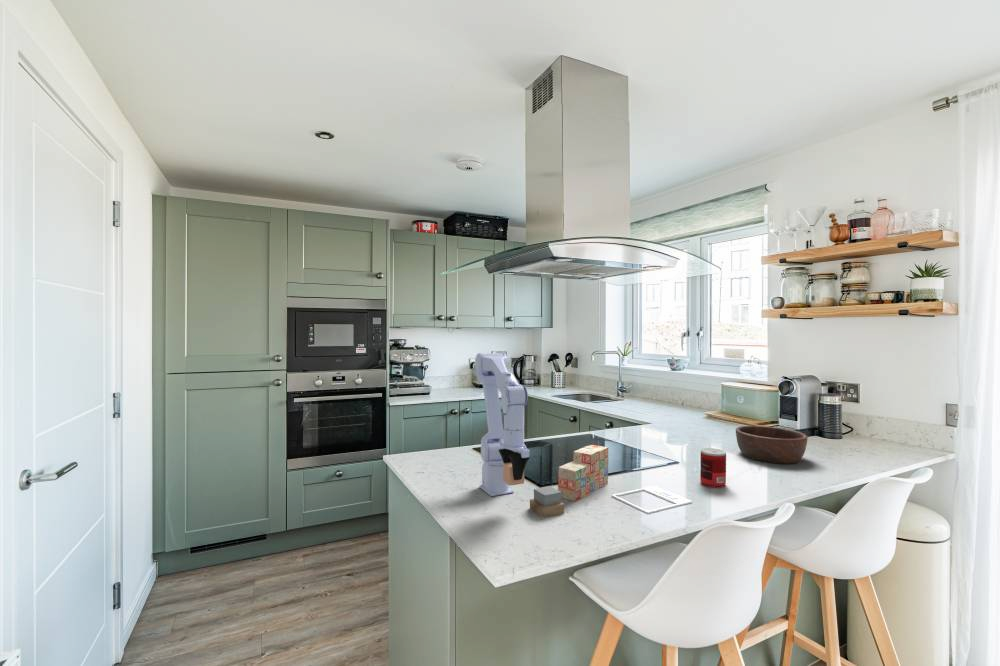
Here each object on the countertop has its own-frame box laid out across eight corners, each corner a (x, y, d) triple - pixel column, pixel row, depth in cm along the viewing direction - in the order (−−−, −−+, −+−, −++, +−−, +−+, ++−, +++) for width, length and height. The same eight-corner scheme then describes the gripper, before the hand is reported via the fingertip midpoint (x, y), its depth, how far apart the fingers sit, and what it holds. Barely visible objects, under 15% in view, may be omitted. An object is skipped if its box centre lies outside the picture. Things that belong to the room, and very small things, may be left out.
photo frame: (692, 500, 136) (647, 511, 127) (692, 504, 136) (647, 515, 127) (654, 485, 149) (611, 494, 140) (654, 488, 149) (611, 498, 140)
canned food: (727, 482, 154) (727, 450, 154) (723, 489, 147) (724, 455, 147) (702, 478, 158) (703, 446, 158) (698, 485, 151) (698, 451, 151)
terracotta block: (502, 480, 130) (502, 463, 130) (516, 478, 132) (517, 461, 132) (509, 485, 126) (509, 467, 126) (524, 483, 128) (524, 465, 128)
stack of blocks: (575, 502, 136) (575, 460, 136) (557, 497, 140) (557, 457, 140) (608, 483, 152) (608, 446, 152) (591, 479, 156) (591, 443, 156)
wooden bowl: (730, 446, 201) (731, 423, 201) (796, 452, 194) (796, 427, 193) (741, 462, 178) (741, 436, 177) (816, 469, 170) (817, 441, 170)
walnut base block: (529, 509, 131) (529, 499, 131) (550, 505, 134) (550, 495, 134) (542, 519, 124) (542, 508, 124) (564, 514, 128) (564, 503, 127)
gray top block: (533, 499, 130) (533, 489, 130) (549, 496, 133) (549, 485, 133) (544, 506, 126) (545, 495, 126) (561, 502, 128) (561, 491, 128)
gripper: (490, 424, 134) (490, 471, 134) (512, 435, 121) (512, 486, 121) (512, 422, 137) (511, 468, 137) (536, 433, 124) (535, 483, 124)
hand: (513, 476), depth 129 cm, fingers closed on terracotta block, 4 cm apart
